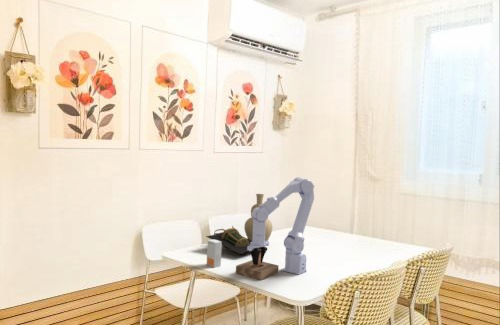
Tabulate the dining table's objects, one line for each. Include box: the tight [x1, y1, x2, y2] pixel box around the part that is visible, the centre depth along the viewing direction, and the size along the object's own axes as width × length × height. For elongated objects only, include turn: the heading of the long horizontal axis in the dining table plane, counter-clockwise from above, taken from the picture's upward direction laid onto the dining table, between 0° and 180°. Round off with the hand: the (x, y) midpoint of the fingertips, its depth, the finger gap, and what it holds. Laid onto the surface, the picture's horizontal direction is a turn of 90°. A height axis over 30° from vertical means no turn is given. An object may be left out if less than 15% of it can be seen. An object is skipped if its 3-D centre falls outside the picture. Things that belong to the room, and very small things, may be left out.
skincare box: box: [206, 239, 223, 268], centre depth 190 cm, size 6×4×12 cm
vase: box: [244, 193, 273, 241], centre depth 235 cm, size 17×17×30 cm
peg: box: [254, 249, 261, 268], centre depth 181 cm, size 3×3×9 cm
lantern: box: [206, 225, 252, 255], centre depth 220 cm, size 14×23×30 cm
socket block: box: [235, 259, 279, 281], centre depth 181 cm, size 14×14×4 cm
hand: (257, 263), depth 181 cm, fingers closed on peg, 3 cm apart
